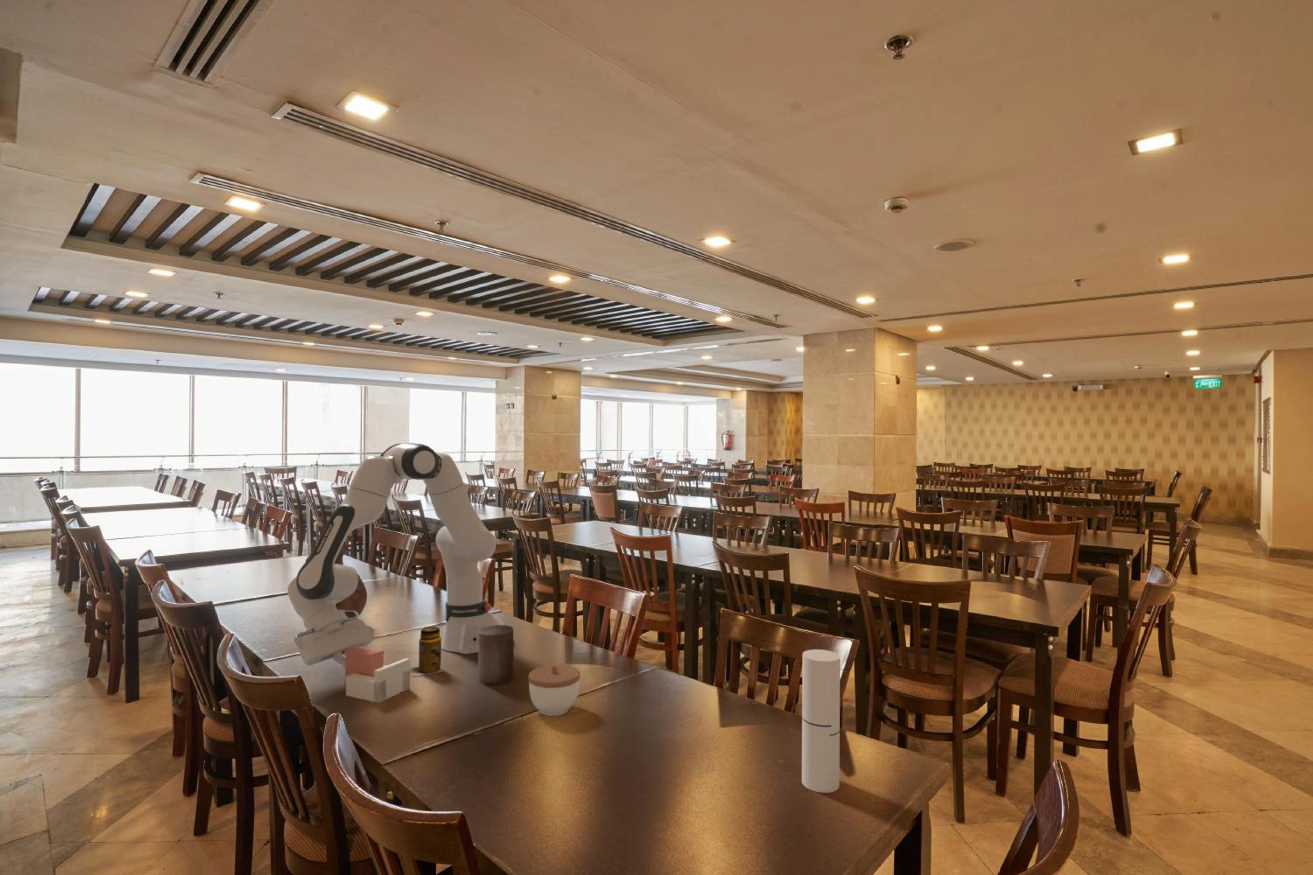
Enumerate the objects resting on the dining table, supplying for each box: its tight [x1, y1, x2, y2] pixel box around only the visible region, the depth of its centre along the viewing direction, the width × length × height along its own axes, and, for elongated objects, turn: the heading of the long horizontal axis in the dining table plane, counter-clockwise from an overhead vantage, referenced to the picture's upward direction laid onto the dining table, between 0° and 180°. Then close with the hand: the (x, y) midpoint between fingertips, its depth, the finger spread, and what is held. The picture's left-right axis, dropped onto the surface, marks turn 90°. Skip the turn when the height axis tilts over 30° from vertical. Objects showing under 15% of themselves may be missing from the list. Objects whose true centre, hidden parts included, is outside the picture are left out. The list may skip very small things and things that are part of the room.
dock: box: [345, 657, 411, 704], centre depth 174 cm, size 12×10×8 cm
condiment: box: [410, 626, 445, 677], centre depth 191 cm, size 7×8×12 cm
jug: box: [305, 544, 368, 616], centre depth 232 cm, size 22×22×30 cm
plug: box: [344, 646, 385, 689], centre depth 176 cm, size 9×4×10 cm, turn 65°
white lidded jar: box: [528, 664, 581, 717], centre depth 163 cm, size 13×13×11 cm
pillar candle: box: [477, 624, 514, 685], centre depth 185 cm, size 10×10×15 cm
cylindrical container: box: [801, 649, 841, 794], centre depth 129 cm, size 7×7×25 cm
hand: (350, 666), depth 178 cm, fingers closed, pressing on plug
